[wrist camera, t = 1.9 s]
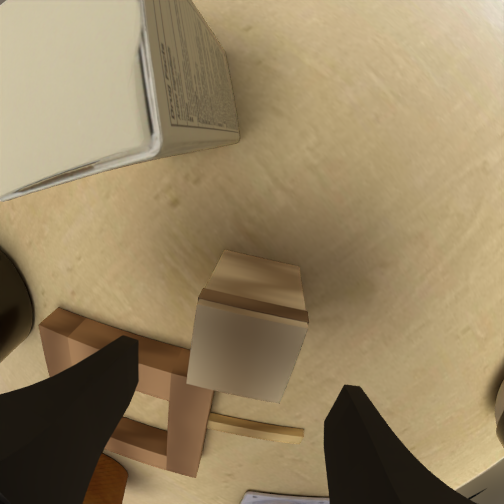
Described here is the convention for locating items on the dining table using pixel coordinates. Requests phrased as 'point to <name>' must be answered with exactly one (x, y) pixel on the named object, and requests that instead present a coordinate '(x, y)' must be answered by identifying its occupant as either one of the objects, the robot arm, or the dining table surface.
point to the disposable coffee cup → (106, 483)
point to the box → (106, 88)
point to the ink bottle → (12, 308)
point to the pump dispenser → (500, 414)
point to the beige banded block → (248, 328)
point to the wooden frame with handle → (155, 384)
